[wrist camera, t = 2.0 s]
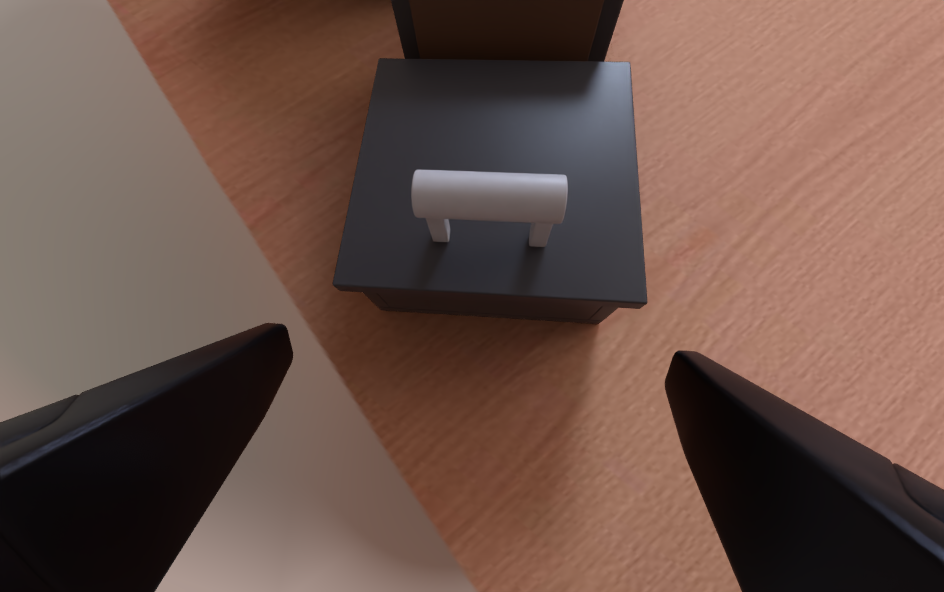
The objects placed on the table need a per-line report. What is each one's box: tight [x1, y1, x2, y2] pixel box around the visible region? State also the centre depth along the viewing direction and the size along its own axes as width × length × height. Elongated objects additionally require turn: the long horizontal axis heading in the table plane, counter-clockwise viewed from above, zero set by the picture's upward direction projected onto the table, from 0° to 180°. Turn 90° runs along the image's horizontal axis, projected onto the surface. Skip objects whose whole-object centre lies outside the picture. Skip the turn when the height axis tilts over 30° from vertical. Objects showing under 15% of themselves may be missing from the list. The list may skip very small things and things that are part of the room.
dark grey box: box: [363, 292, 618, 324], centre depth 20 cm, size 12×13×6 cm
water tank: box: [391, 0, 624, 62], centre depth 21 cm, size 6×11×10 cm, turn 85°
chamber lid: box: [333, 58, 647, 309], centre depth 15 cm, size 12×13×5 cm
